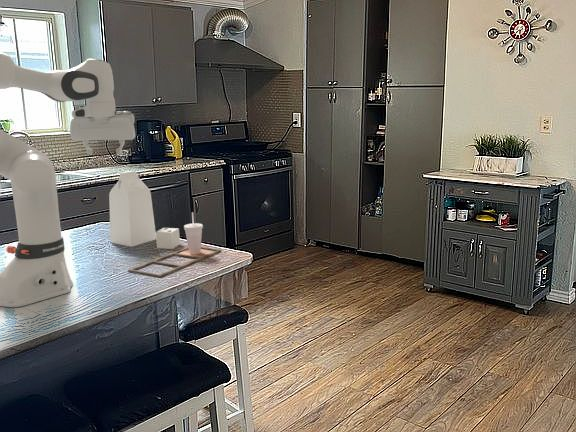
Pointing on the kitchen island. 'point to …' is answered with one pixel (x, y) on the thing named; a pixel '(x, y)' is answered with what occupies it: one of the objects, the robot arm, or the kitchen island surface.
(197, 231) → the smoothie
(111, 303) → the kitchen island surface
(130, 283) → the kitchen island surface
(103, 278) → the kitchen island surface
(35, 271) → the robot arm
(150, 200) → the milk
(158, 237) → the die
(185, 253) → the board
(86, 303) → the kitchen island surface
